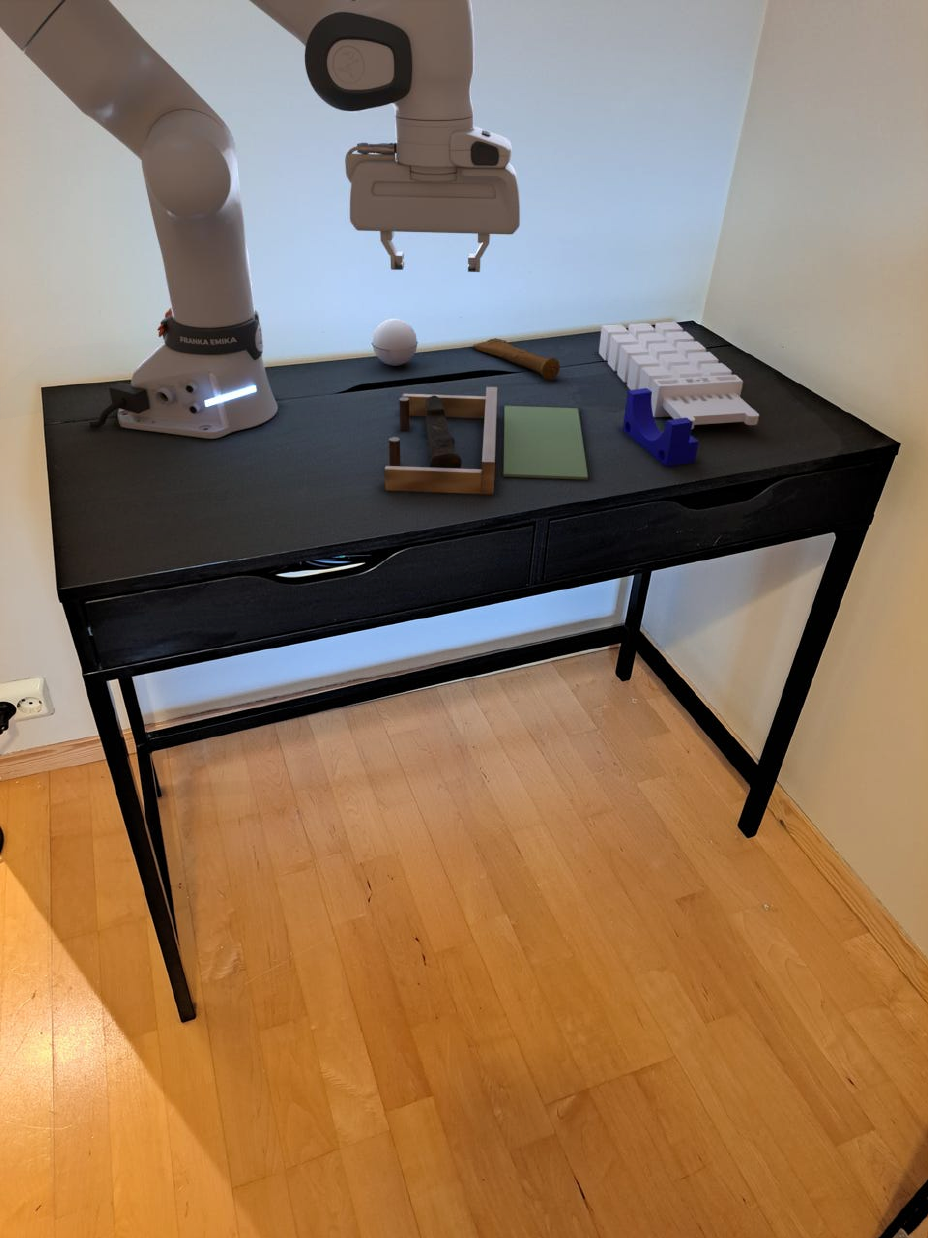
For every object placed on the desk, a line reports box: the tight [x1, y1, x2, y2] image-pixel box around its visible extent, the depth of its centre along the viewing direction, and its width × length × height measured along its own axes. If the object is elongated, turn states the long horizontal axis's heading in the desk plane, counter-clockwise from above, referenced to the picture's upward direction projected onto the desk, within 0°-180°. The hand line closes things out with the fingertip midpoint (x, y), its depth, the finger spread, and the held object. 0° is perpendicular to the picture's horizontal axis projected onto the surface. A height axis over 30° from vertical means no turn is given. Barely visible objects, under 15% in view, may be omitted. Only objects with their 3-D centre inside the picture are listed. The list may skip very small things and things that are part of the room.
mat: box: [502, 405, 589, 481], centre depth 126 cm, size 11×22×1 cm, turn 178°
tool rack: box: [384, 386, 498, 495], centre depth 122 cm, size 14×24×4 cm, turn 178°
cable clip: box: [622, 388, 699, 467], centre depth 124 cm, size 12×4×6 cm, turn 21°
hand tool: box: [425, 394, 463, 469], centre depth 122 cm, size 19×4×5 cm, turn 5°
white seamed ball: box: [371, 318, 420, 367], centre depth 145 cm, size 10×7×7 cm
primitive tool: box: [472, 337, 561, 381], centre depth 149 cm, size 19×6×4 cm, turn 37°
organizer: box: [598, 321, 760, 430], centre depth 140 cm, size 13×5×35 cm
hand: (435, 269), depth 110 cm, fingers open, 8 cm apart
